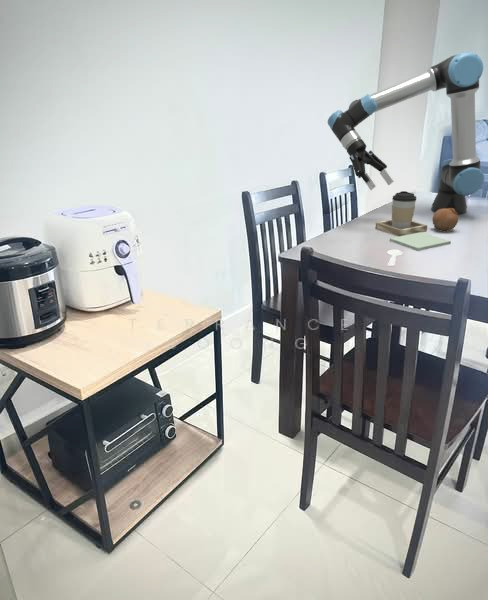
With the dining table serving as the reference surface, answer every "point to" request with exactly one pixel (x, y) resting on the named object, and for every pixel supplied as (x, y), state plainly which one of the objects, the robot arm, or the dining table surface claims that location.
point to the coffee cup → (403, 209)
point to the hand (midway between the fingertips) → (382, 185)
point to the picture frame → (413, 229)
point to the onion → (445, 219)
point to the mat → (420, 241)
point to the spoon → (393, 256)
